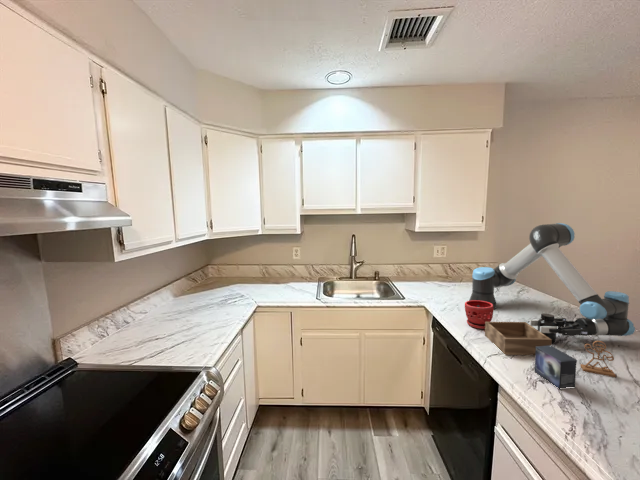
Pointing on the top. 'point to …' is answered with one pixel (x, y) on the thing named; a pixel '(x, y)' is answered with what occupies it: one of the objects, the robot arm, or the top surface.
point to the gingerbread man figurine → (597, 369)
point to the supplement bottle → (548, 324)
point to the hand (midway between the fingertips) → (535, 326)
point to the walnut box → (515, 337)
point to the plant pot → (478, 313)
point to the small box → (555, 366)
